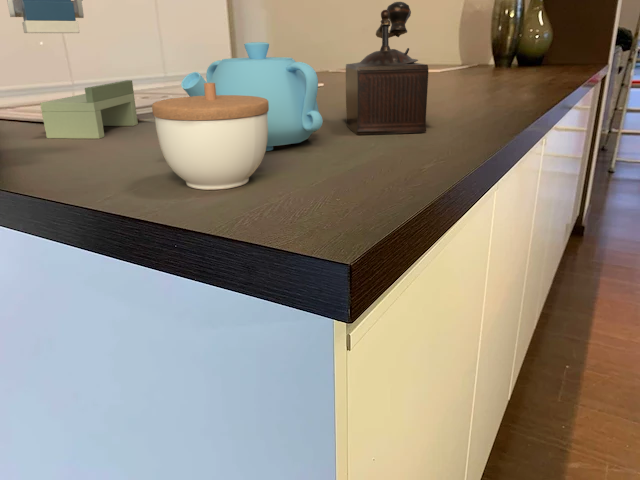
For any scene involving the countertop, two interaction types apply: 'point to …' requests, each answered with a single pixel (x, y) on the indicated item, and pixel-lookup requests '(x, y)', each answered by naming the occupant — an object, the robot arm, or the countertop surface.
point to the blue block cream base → (49, 16)
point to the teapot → (268, 90)
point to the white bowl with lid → (212, 137)
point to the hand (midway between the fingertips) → (47, 17)
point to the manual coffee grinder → (387, 84)
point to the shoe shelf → (90, 111)
